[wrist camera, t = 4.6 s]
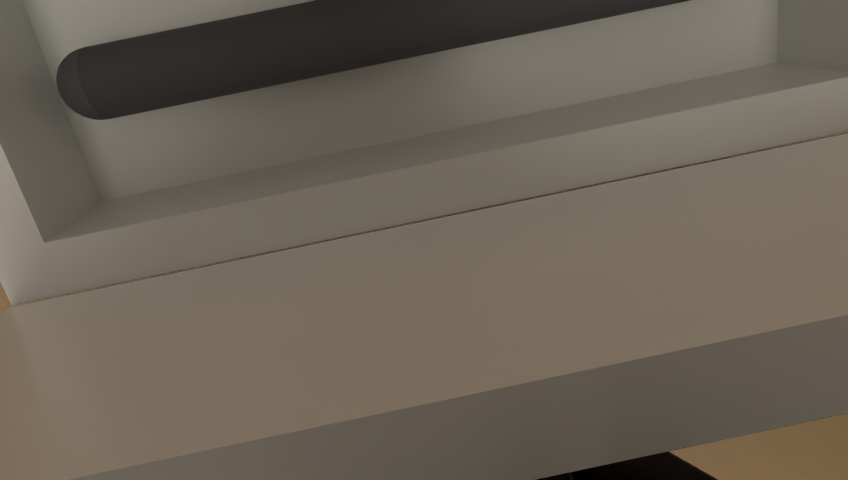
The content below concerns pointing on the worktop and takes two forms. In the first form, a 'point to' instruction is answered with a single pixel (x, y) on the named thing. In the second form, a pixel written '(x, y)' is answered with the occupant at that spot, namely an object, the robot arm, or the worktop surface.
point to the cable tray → (382, 130)
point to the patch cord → (298, 47)
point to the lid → (458, 340)
